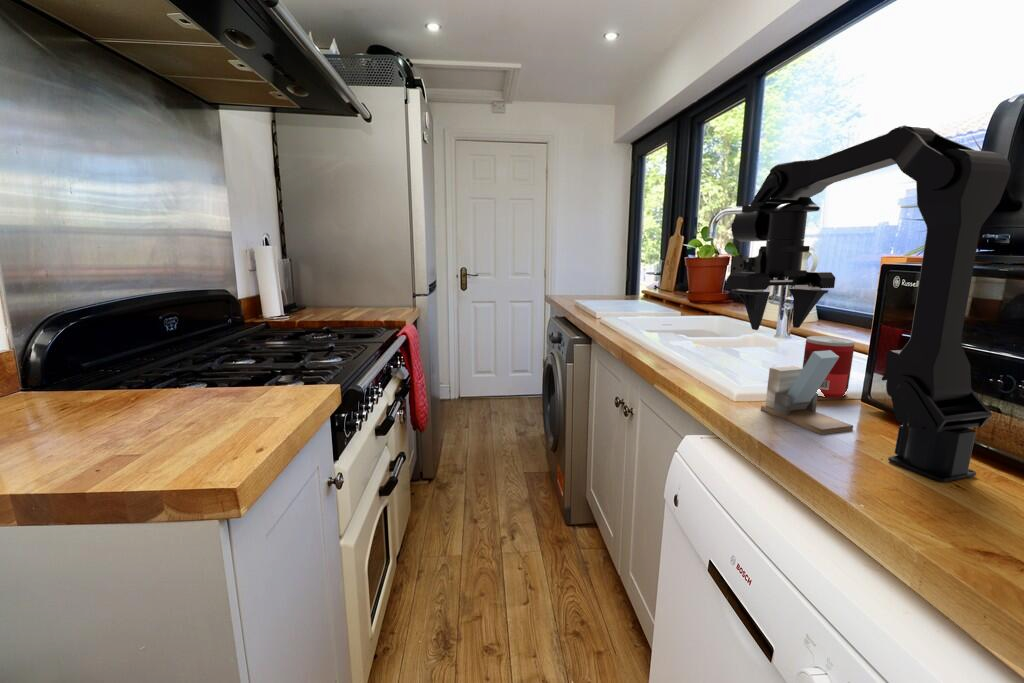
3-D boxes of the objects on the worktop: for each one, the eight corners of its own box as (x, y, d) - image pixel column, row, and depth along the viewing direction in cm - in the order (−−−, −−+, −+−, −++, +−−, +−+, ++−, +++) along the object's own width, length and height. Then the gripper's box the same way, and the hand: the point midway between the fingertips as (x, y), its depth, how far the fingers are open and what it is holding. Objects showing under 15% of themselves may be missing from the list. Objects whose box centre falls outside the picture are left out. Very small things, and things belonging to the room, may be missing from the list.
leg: (805, 409, 81) (840, 356, 74) (787, 411, 80) (820, 358, 73) (798, 401, 82) (831, 350, 76) (780, 403, 81) (812, 351, 74)
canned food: (856, 398, 90) (864, 343, 88) (814, 398, 90) (821, 342, 88) (830, 387, 98) (837, 335, 96) (791, 387, 98) (798, 335, 96)
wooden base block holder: (852, 430, 74) (859, 382, 73) (821, 434, 72) (828, 386, 71) (789, 406, 85) (794, 365, 84) (760, 409, 84) (765, 367, 82)
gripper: (788, 242, 91) (780, 320, 94) (708, 241, 86) (702, 324, 89) (842, 240, 81) (831, 329, 84) (755, 239, 76) (746, 333, 79)
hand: (775, 328), depth 84 cm, fingers open, 9 cm apart
